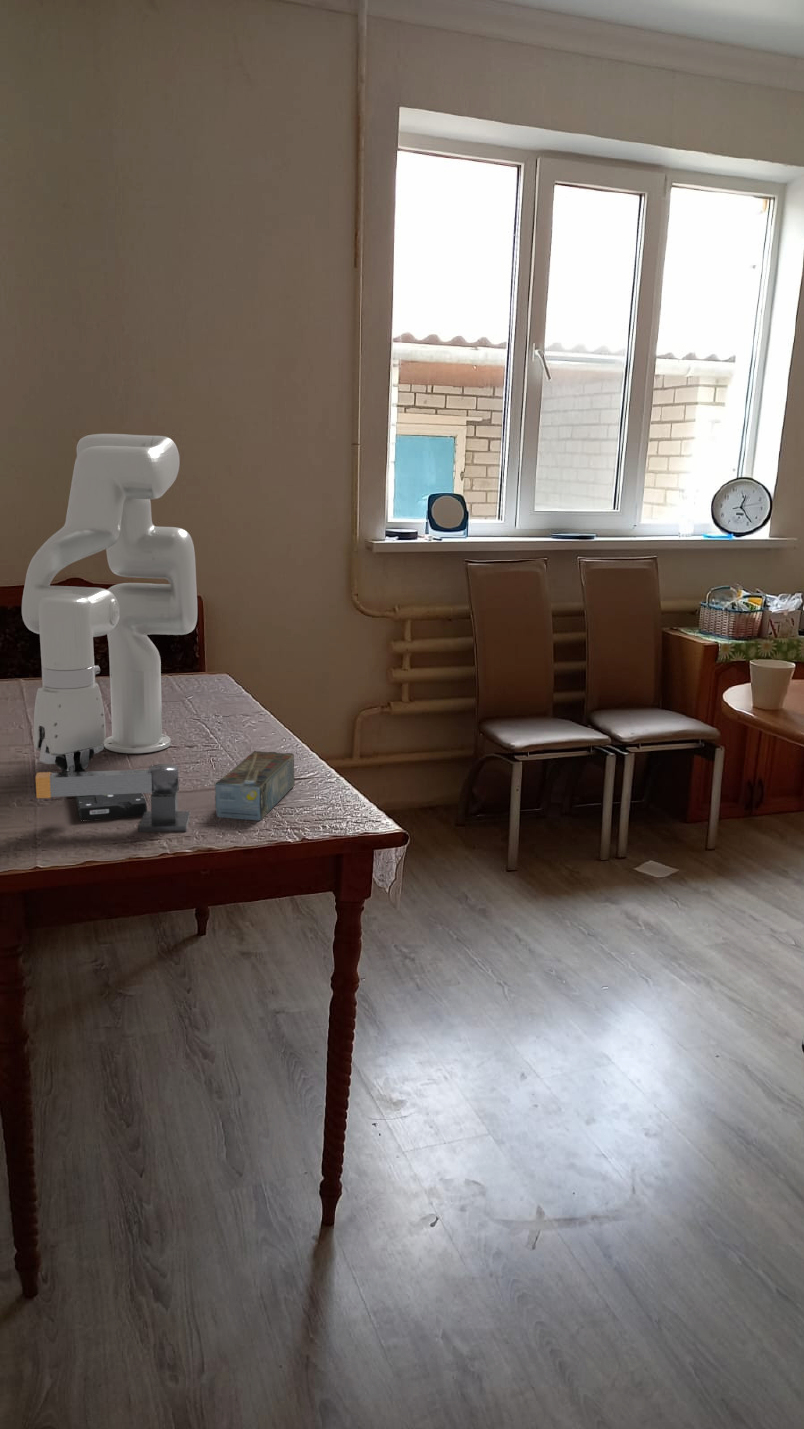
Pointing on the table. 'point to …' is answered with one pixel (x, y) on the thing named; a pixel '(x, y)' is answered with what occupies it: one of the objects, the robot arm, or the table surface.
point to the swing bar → (109, 782)
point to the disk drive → (111, 806)
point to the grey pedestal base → (164, 815)
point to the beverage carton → (255, 785)
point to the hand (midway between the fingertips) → (74, 793)
